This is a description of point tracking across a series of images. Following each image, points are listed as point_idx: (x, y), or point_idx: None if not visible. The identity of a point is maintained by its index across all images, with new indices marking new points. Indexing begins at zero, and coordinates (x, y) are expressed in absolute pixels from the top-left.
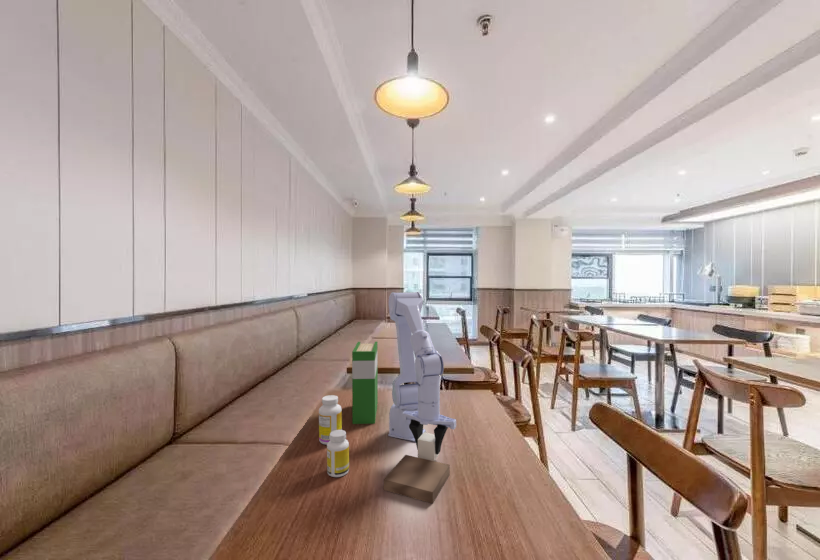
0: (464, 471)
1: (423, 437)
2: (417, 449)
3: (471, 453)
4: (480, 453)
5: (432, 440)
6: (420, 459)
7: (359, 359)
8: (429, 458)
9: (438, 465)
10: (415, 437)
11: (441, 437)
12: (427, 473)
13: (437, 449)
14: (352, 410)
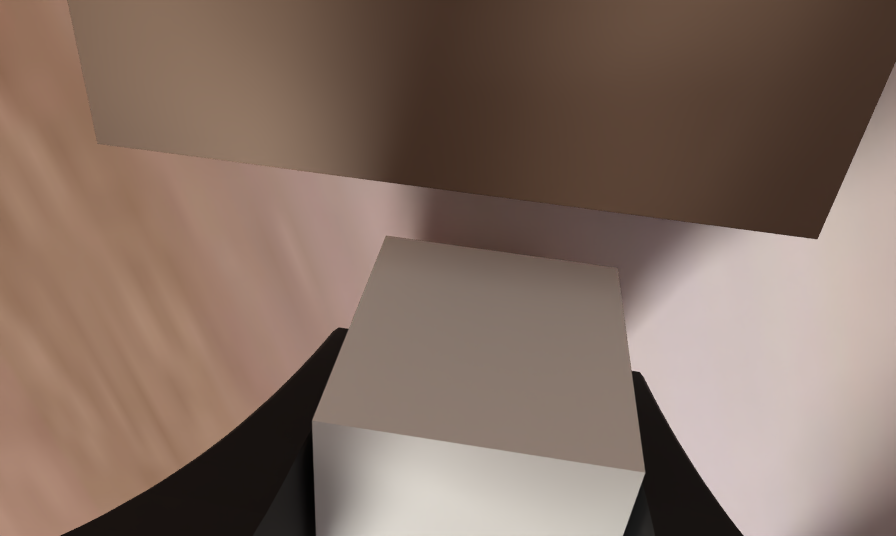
0: (58, 203)
1: (550, 534)
2: (641, 376)
3: (148, 482)
4: (82, 492)
5: (363, 475)
6: (543, 166)
7: None
8: (442, 260)
9: (227, 78)
10: (701, 516)
11: (128, 512)
12: None
13: (308, 363)
14: None
